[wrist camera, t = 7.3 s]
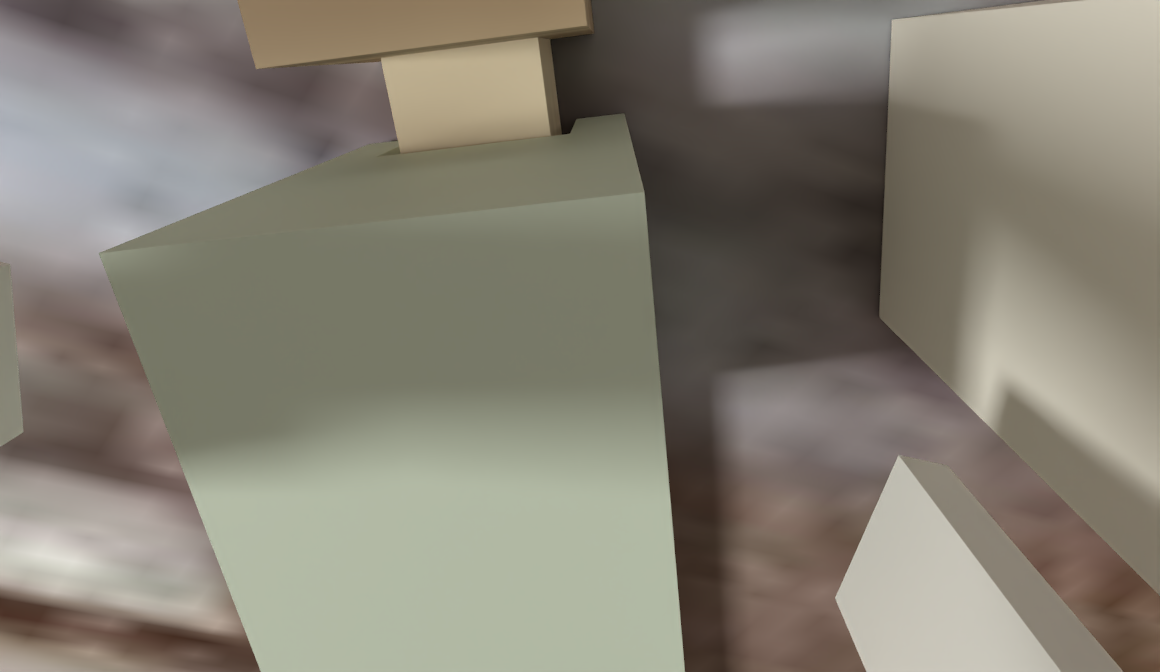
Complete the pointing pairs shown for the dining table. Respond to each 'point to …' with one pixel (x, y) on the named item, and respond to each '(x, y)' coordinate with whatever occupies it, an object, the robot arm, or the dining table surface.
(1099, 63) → the white tall block
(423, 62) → the rail
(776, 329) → the dining table surface
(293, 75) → the dining table surface
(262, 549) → the block
